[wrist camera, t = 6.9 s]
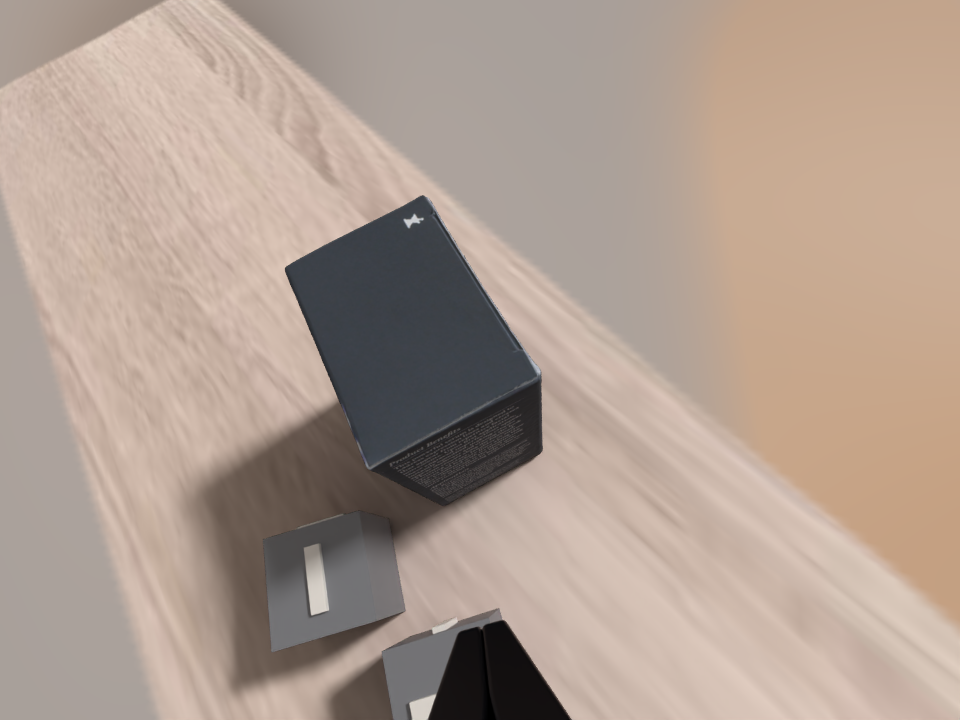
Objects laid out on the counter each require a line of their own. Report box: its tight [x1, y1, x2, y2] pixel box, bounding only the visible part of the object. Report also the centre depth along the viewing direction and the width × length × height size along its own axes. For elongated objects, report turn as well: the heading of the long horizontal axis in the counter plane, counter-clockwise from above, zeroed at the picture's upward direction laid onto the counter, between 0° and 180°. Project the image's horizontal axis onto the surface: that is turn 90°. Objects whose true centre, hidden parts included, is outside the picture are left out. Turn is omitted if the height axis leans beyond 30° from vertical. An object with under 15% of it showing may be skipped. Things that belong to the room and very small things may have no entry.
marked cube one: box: [382, 608, 502, 720], centre depth 18 cm, size 4×4×4 cm
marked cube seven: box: [263, 510, 406, 652], centre depth 20 cm, size 4×4×4 cm
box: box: [285, 195, 543, 506], centre depth 19 cm, size 8×6×11 cm
